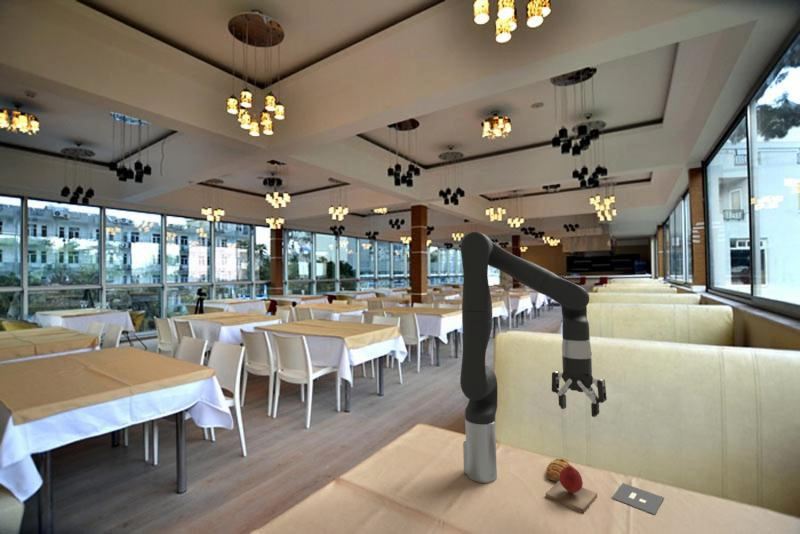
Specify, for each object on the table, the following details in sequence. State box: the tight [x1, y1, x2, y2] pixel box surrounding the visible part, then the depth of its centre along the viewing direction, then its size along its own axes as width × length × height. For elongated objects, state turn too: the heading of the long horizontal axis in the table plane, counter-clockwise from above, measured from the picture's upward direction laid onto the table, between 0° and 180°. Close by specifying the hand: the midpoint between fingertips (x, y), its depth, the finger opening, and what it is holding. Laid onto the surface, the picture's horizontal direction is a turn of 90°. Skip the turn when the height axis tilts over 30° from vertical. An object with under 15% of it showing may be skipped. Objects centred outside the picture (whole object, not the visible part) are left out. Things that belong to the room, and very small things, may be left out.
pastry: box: [546, 458, 570, 483], centre depth 112 cm, size 9×7×4 cm
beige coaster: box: [545, 480, 598, 514], centre depth 101 cm, size 10×10×1 cm
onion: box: [559, 463, 584, 494], centre depth 101 cm, size 6×6×8 cm
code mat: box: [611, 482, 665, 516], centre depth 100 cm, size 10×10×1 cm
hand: (578, 412), depth 104 cm, fingers open, 8 cm apart
